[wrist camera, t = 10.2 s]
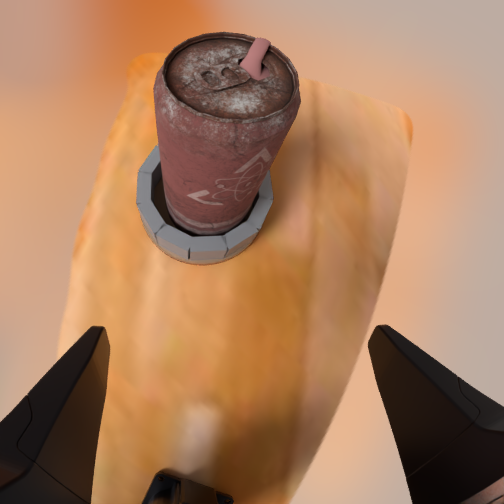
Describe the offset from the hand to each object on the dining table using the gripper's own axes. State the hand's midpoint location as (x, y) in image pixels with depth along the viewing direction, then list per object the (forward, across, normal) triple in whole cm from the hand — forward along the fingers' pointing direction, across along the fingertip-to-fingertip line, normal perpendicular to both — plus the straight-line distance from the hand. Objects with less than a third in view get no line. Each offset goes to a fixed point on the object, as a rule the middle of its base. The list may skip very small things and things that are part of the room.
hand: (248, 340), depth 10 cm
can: (+16, +1, +2) cm, 16 cm away
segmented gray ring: (+17, +1, +2) cm, 17 cm away
